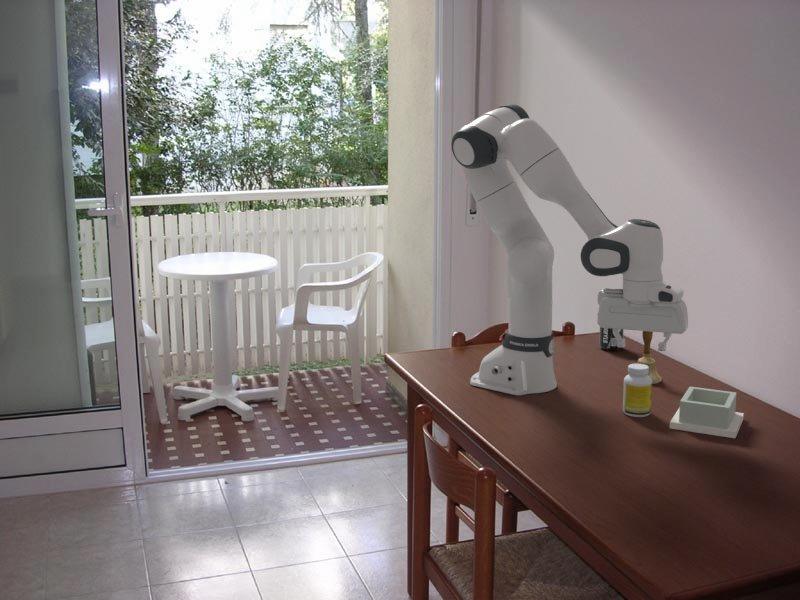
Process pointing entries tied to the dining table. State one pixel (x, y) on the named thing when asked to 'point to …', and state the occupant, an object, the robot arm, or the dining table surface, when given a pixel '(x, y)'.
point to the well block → (708, 413)
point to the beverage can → (608, 339)
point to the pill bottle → (637, 391)
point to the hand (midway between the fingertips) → (641, 348)
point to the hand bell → (649, 358)
